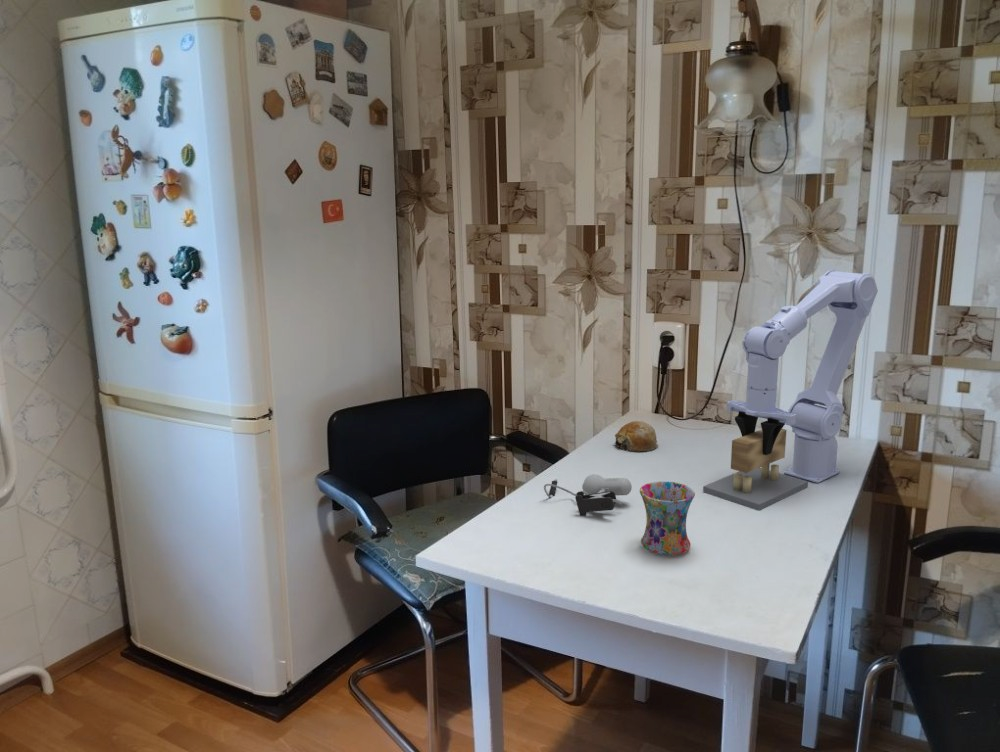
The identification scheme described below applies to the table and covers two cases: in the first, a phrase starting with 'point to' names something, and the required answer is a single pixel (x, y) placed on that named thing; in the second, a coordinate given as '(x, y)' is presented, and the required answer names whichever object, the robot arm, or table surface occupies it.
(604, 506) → the clip-on lamp
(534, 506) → the table surface
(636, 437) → the bread roll
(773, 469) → the peg stand
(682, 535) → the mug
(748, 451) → the oak bar
